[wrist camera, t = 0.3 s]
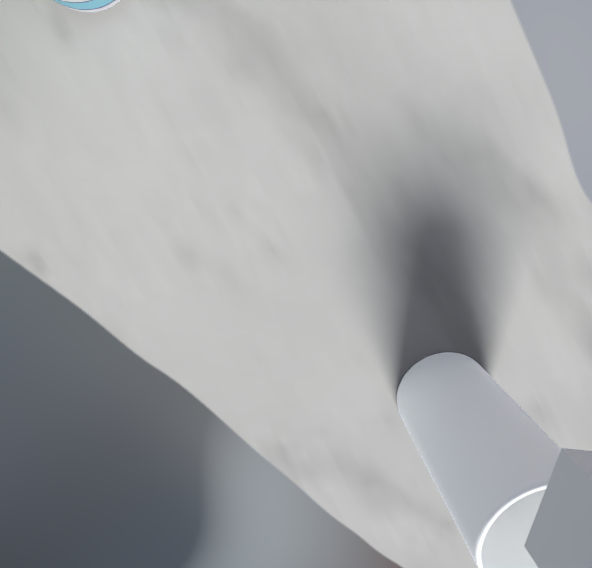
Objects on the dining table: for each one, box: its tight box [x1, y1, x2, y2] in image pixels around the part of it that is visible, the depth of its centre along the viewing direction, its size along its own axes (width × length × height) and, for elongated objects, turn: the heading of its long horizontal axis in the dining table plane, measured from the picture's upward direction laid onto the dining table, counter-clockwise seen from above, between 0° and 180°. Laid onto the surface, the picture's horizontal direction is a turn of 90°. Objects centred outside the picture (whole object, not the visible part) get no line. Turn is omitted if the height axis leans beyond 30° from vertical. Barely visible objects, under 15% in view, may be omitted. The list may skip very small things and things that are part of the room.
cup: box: [397, 352, 561, 568], centre depth 34 cm, size 8×8×16 cm
